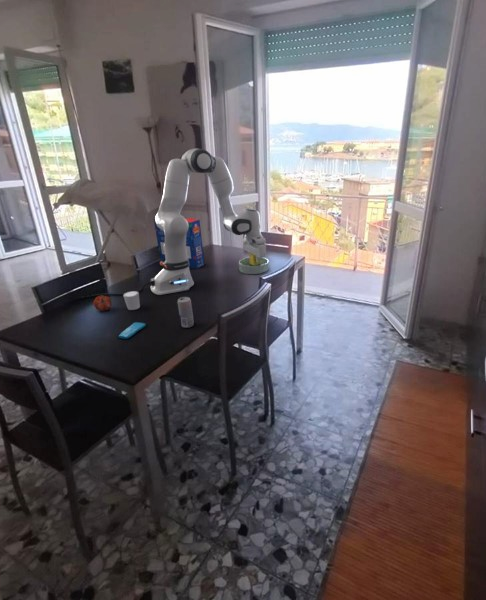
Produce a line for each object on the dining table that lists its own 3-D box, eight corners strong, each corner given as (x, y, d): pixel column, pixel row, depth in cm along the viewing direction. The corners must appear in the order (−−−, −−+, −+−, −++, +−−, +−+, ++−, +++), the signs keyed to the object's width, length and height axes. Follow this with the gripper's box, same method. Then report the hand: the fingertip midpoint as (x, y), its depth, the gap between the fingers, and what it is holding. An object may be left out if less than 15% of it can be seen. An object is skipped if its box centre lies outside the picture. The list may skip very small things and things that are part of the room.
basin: (248, 277, 199) (248, 268, 196) (233, 268, 212) (233, 260, 210) (274, 270, 207) (274, 262, 205) (258, 262, 221) (258, 254, 219)
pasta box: (204, 264, 220) (199, 219, 208) (196, 268, 214) (191, 222, 202) (169, 259, 232) (162, 216, 220) (161, 263, 225) (153, 219, 213)
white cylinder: (125, 311, 163) (122, 297, 160) (126, 305, 169) (123, 292, 166) (141, 309, 165) (138, 295, 162) (141, 303, 171) (139, 290, 168)
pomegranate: (95, 314, 167) (92, 309, 157) (94, 299, 168) (91, 293, 159) (112, 312, 169) (110, 308, 160) (112, 298, 171) (109, 292, 162)
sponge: (114, 335, 141) (125, 336, 139) (134, 321, 152) (145, 322, 149) (115, 338, 142) (126, 339, 140) (135, 324, 152) (146, 325, 150)
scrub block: (253, 267, 206) (253, 256, 203) (249, 265, 210) (249, 254, 207) (260, 266, 209) (259, 254, 206) (256, 264, 212) (255, 252, 209)
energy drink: (188, 320, 153) (185, 295, 148) (196, 324, 150) (193, 298, 145) (178, 325, 149) (174, 299, 144) (186, 329, 146) (182, 303, 141)
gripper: (239, 235, 208) (241, 257, 214) (258, 242, 193) (259, 266, 199) (248, 233, 211) (250, 255, 217) (267, 240, 196) (268, 264, 202)
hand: (254, 260), depth 208 cm, fingers closed on scrub block, 4 cm apart
